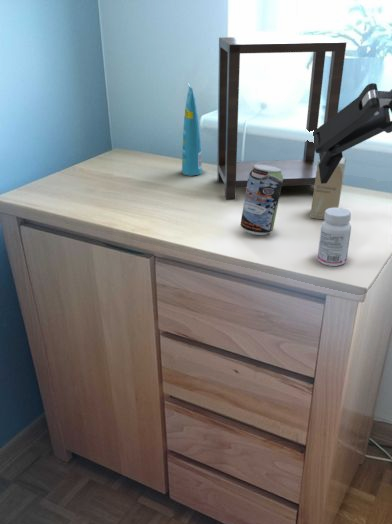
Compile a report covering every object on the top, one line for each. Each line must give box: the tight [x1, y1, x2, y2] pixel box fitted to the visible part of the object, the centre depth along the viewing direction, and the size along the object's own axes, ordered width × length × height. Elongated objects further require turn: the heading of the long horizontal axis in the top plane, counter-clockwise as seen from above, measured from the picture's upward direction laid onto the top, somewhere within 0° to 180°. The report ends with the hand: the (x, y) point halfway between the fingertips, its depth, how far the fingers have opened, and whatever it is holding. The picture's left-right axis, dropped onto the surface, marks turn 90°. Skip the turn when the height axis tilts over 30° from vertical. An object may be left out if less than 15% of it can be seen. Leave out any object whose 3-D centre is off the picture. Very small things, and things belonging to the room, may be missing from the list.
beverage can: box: [240, 164, 283, 236], centre depth 100 cm, size 6×7×12 cm
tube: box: [181, 83, 203, 177], centre depth 129 cm, size 7×5×19 cm, turn 12°
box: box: [309, 156, 348, 220], centre depth 107 cm, size 5×4×11 cm
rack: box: [216, 35, 347, 201], centre depth 117 cm, size 14×22×29 cm, turn 96°
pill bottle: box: [317, 207, 352, 267], centre depth 90 cm, size 5×5×8 cm
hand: (372, 172), depth 74 cm, fingers open, 13 cm apart
